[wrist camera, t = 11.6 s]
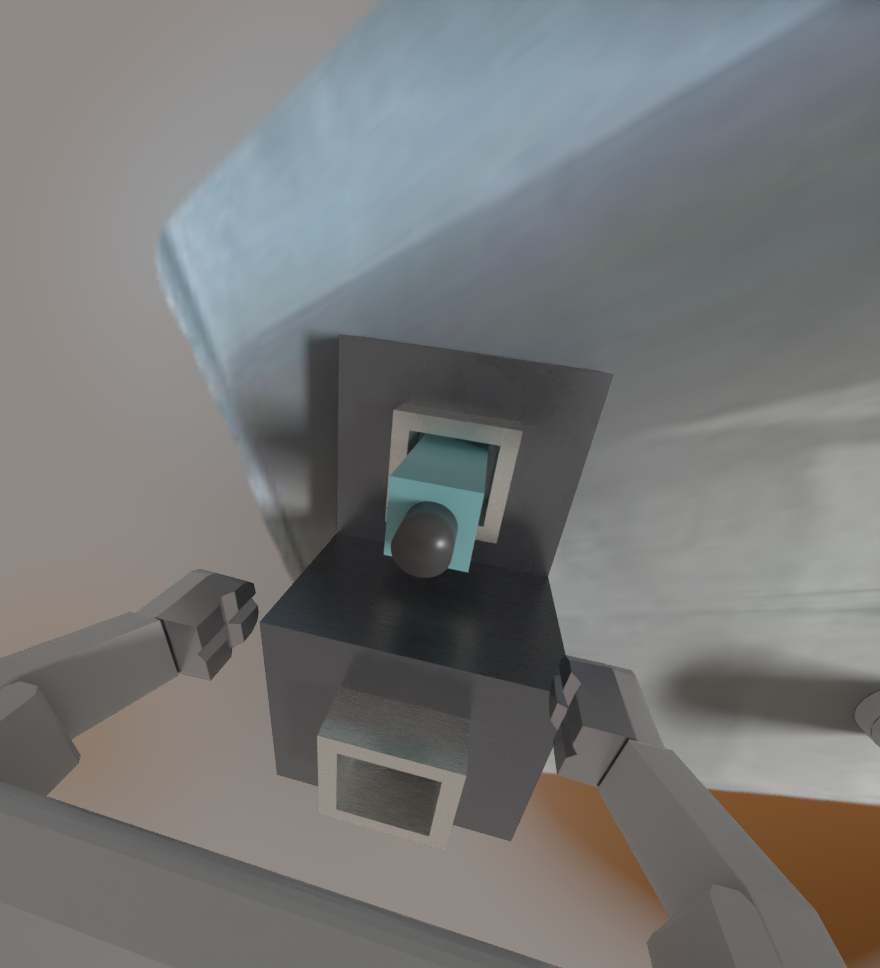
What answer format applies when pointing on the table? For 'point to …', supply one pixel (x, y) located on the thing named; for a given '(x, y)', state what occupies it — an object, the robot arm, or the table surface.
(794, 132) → the table surface
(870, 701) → the cup
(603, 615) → the table surface
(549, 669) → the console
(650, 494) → the table surface
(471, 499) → the plug
